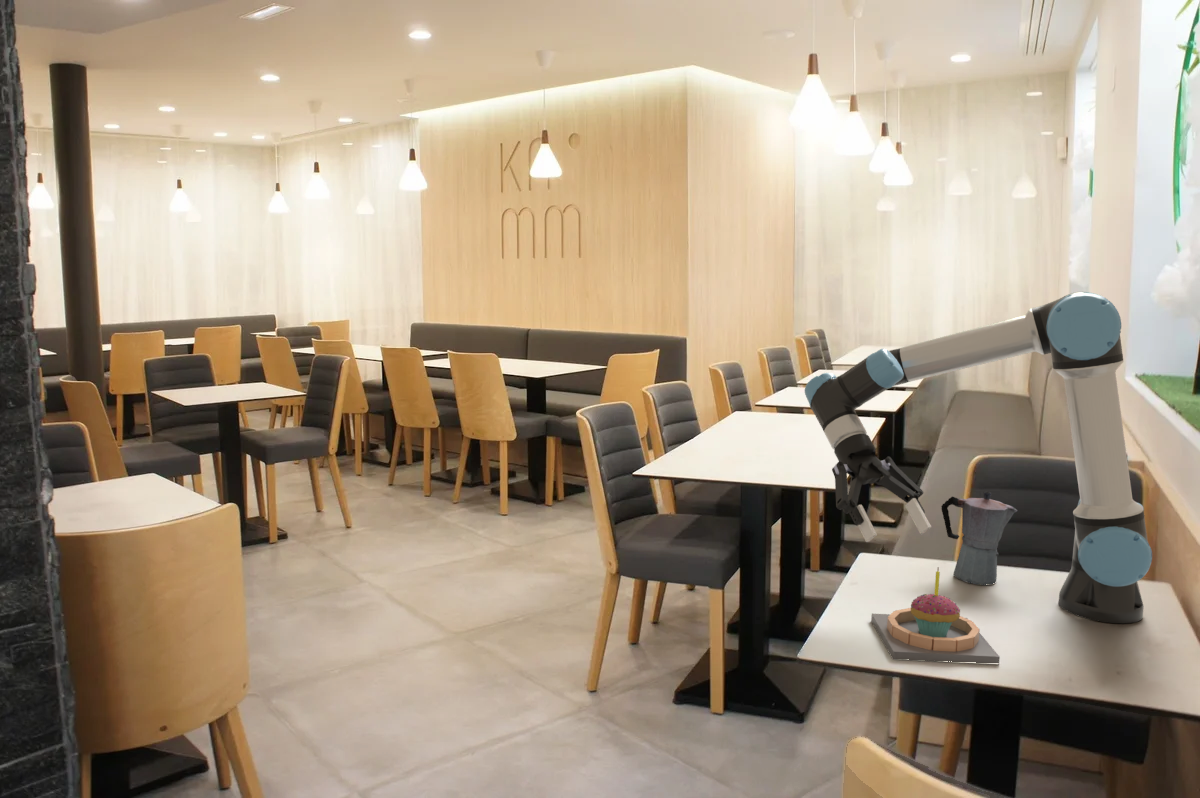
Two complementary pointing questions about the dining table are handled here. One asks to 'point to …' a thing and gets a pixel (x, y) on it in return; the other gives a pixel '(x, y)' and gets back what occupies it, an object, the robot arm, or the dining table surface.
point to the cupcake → (934, 612)
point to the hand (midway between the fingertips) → (899, 534)
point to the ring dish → (928, 654)
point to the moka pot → (978, 536)
